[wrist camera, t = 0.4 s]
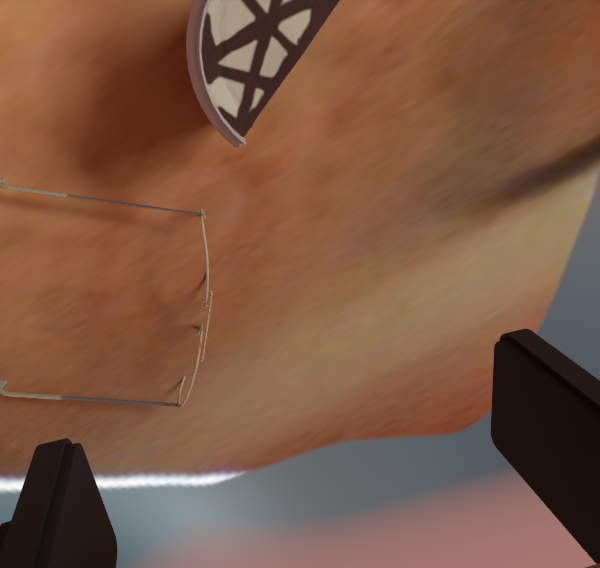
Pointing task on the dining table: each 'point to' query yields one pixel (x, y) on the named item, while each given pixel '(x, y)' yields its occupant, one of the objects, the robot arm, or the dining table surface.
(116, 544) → the robot arm
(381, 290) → the dining table surface
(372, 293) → the dining table surface
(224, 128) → the food container
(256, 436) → the dining table surface
